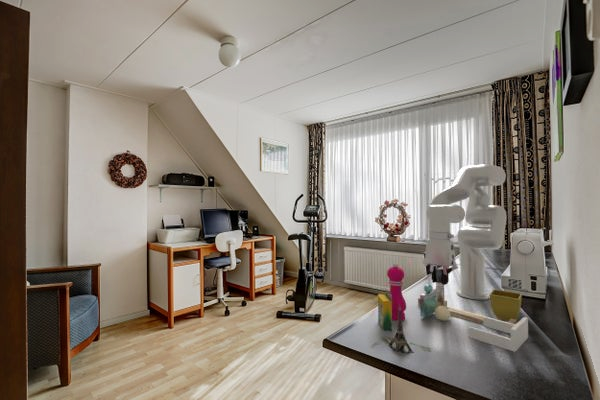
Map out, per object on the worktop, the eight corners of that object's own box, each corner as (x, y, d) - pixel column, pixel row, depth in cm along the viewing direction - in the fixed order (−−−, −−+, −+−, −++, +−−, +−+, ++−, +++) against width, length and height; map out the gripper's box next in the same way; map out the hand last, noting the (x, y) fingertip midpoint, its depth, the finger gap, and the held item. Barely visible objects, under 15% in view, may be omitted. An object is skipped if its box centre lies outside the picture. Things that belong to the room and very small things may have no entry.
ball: (438, 316, 105) (438, 302, 105) (452, 320, 101) (452, 306, 101) (432, 319, 102) (431, 305, 102) (446, 324, 98) (446, 309, 98)
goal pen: (484, 324, 98) (484, 307, 98) (528, 337, 88) (527, 317, 88) (468, 336, 89) (467, 317, 89) (515, 351, 79) (514, 330, 80)
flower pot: (489, 318, 103) (489, 293, 103) (493, 312, 109) (493, 288, 110) (519, 325, 97) (519, 299, 97) (522, 318, 103) (522, 293, 104)
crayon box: (377, 322, 100) (377, 288, 100) (386, 322, 100) (386, 289, 100) (383, 331, 93) (383, 295, 93) (392, 331, 93) (392, 295, 93)
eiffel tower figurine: (433, 350, 81) (432, 303, 82) (425, 366, 73) (424, 314, 73) (382, 336, 90) (381, 294, 90) (369, 349, 82) (369, 302, 82)
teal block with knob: (436, 305, 114) (436, 267, 114) (447, 308, 111) (446, 269, 111) (417, 315, 104) (416, 273, 105) (427, 318, 101) (427, 275, 101)
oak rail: (423, 303, 119) (422, 296, 119) (516, 329, 94) (516, 320, 94) (418, 305, 116) (418, 298, 116) (513, 332, 92) (512, 323, 92)
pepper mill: (408, 322, 100) (407, 265, 100) (386, 320, 101) (386, 264, 102) (404, 314, 107) (404, 261, 107) (384, 313, 108) (384, 260, 109)
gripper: (465, 237, 108) (466, 286, 108) (423, 234, 121) (424, 277, 120) (457, 238, 103) (458, 289, 103) (414, 235, 116) (415, 280, 116)
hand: (439, 282), depth 112 cm, fingers closed on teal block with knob, 3 cm apart
